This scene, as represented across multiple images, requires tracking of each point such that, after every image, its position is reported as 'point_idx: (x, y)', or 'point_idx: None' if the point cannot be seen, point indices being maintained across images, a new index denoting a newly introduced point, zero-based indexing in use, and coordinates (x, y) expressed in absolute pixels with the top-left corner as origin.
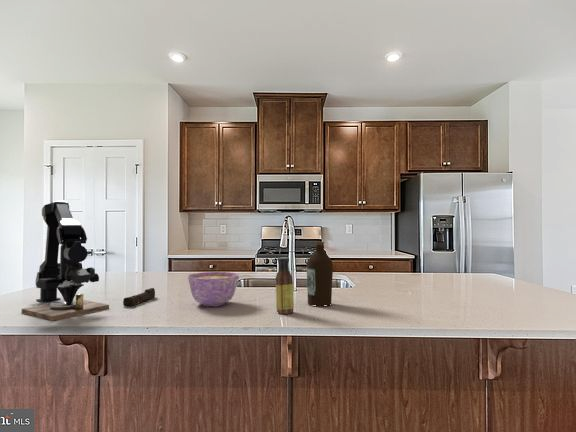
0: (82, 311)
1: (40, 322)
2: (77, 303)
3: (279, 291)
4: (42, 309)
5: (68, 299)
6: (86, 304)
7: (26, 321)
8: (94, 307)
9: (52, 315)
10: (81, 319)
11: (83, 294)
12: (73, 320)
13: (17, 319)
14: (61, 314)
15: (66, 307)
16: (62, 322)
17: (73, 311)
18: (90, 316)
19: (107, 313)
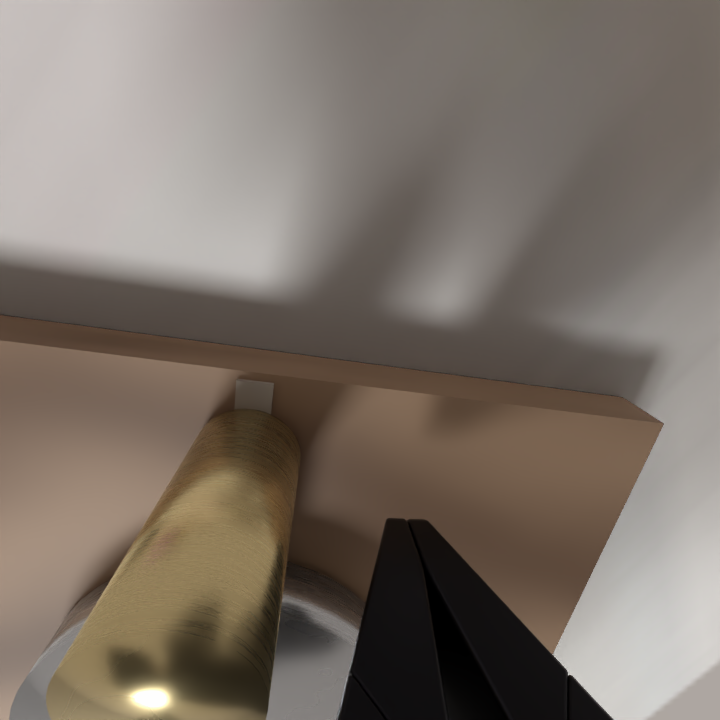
0: (262, 365)
1: (691, 445)
2: (285, 500)
3: None
4: None
5: (497, 607)
6: (14, 596)
7: (670, 573)
8: (40, 351)
9: (629, 454)
10: (482, 105)
11: (69, 653)
12: (556, 173)
13: (621, 671)
14: (558, 408)
15: (332, 593)
16: (668, 222)
17: (380, 409)
18: (297, 132)
19: (8, 9)
